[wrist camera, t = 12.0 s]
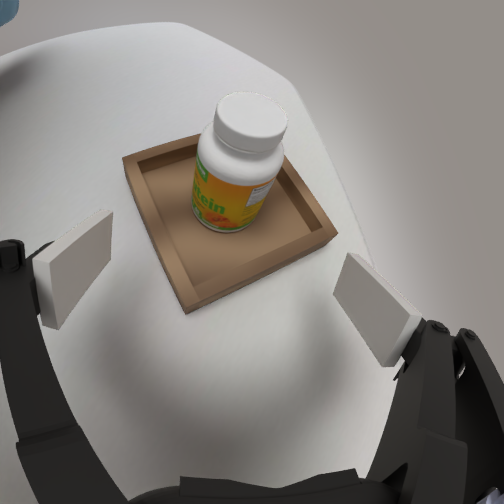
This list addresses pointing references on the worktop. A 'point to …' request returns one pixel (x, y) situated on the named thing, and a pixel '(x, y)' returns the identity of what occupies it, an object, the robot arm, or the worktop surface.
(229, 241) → the box
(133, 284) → the worktop surface
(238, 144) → the supplement bottle
